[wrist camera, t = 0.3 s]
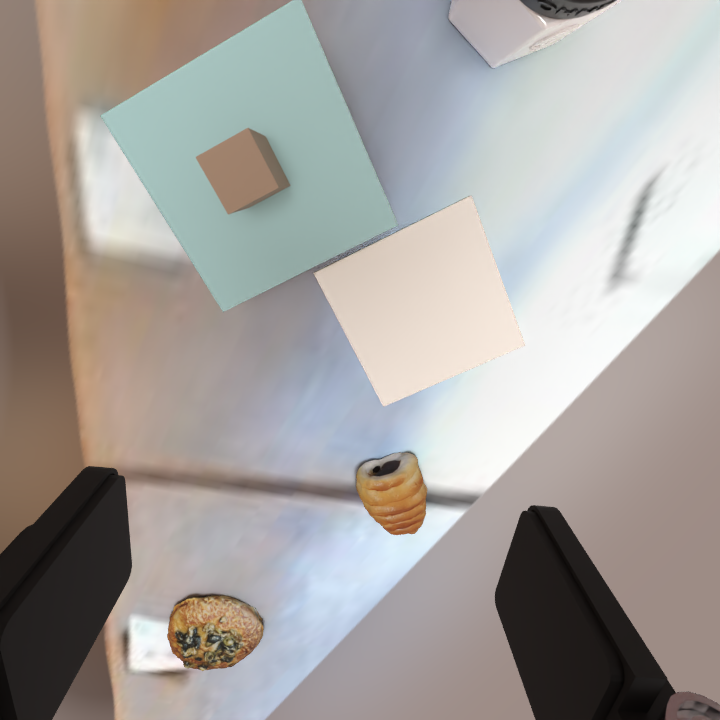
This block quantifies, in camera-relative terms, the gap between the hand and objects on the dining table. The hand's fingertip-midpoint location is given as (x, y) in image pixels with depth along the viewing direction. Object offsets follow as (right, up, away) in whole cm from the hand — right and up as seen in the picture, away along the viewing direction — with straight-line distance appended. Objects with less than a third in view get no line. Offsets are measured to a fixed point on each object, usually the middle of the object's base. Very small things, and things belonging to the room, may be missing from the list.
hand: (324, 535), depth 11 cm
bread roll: (-16, -27, +43) cm, 53 cm away
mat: (+6, +9, +28) cm, 30 cm away
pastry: (+4, -9, +36) cm, 37 cm away
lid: (-5, +16, +19) cm, 25 cm away
